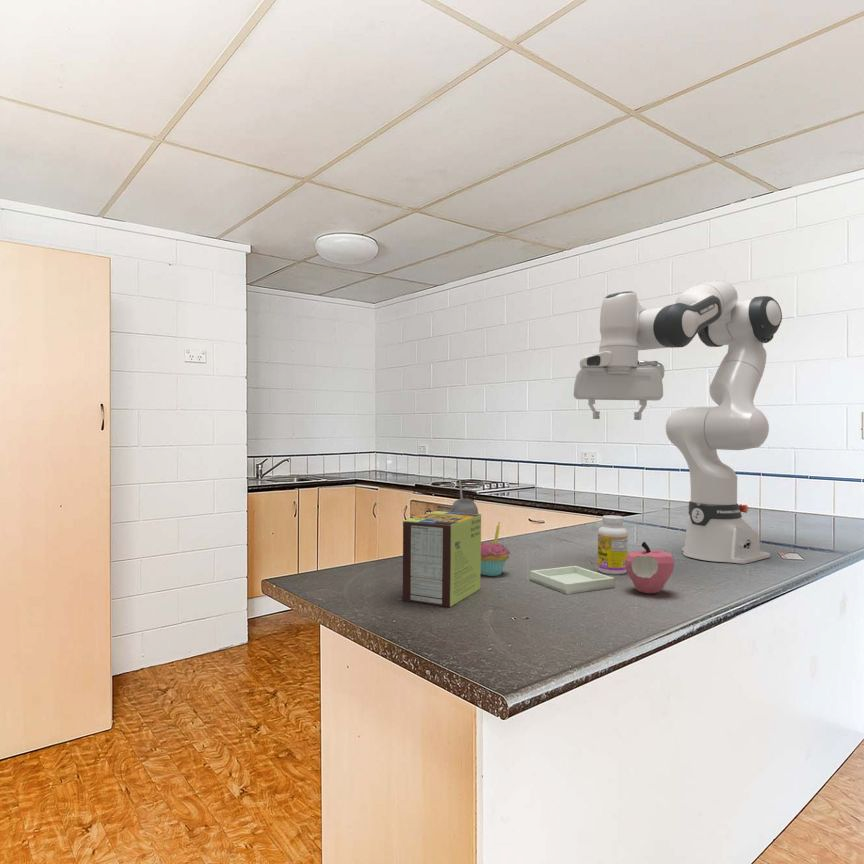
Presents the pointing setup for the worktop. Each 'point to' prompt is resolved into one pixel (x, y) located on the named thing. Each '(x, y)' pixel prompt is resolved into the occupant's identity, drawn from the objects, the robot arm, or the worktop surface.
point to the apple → (649, 569)
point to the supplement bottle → (612, 545)
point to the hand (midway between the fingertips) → (616, 419)
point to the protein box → (441, 557)
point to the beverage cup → (464, 504)
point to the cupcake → (493, 557)
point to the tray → (572, 579)
